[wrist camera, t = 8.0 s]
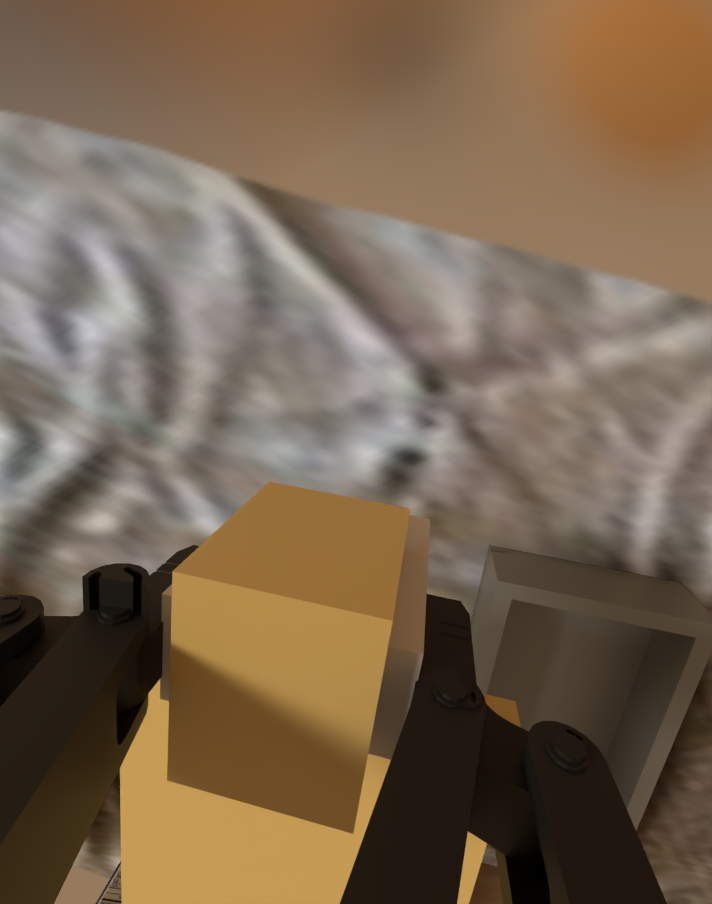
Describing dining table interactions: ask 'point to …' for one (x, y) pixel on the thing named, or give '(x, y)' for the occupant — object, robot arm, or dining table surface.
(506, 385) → the dining table surface
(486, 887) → the walnut block
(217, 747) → the lid
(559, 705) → the tub
